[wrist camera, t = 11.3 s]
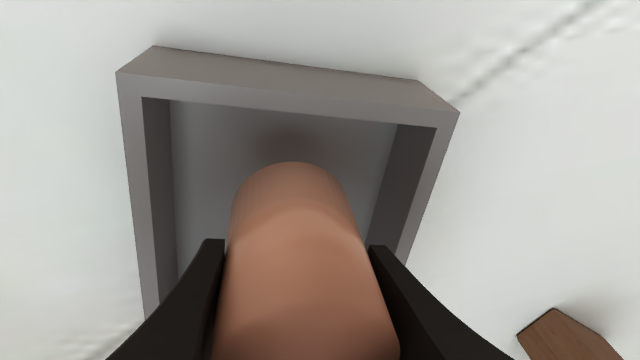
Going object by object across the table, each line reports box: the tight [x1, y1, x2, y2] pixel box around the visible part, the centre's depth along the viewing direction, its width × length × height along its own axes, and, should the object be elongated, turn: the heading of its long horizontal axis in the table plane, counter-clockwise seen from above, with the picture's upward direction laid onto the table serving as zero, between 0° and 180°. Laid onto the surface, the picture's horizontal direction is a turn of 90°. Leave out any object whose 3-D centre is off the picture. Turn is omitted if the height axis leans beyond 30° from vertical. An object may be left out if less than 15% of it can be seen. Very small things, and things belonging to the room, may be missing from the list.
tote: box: [115, 46, 460, 320], centre depth 21 cm, size 18×14×5 cm
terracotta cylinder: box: [209, 162, 400, 360], centre depth 12 cm, size 5×5×7 cm
